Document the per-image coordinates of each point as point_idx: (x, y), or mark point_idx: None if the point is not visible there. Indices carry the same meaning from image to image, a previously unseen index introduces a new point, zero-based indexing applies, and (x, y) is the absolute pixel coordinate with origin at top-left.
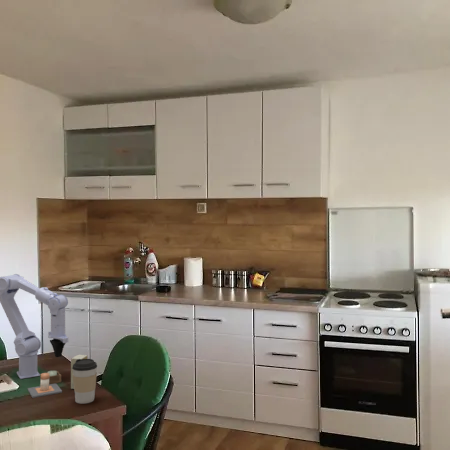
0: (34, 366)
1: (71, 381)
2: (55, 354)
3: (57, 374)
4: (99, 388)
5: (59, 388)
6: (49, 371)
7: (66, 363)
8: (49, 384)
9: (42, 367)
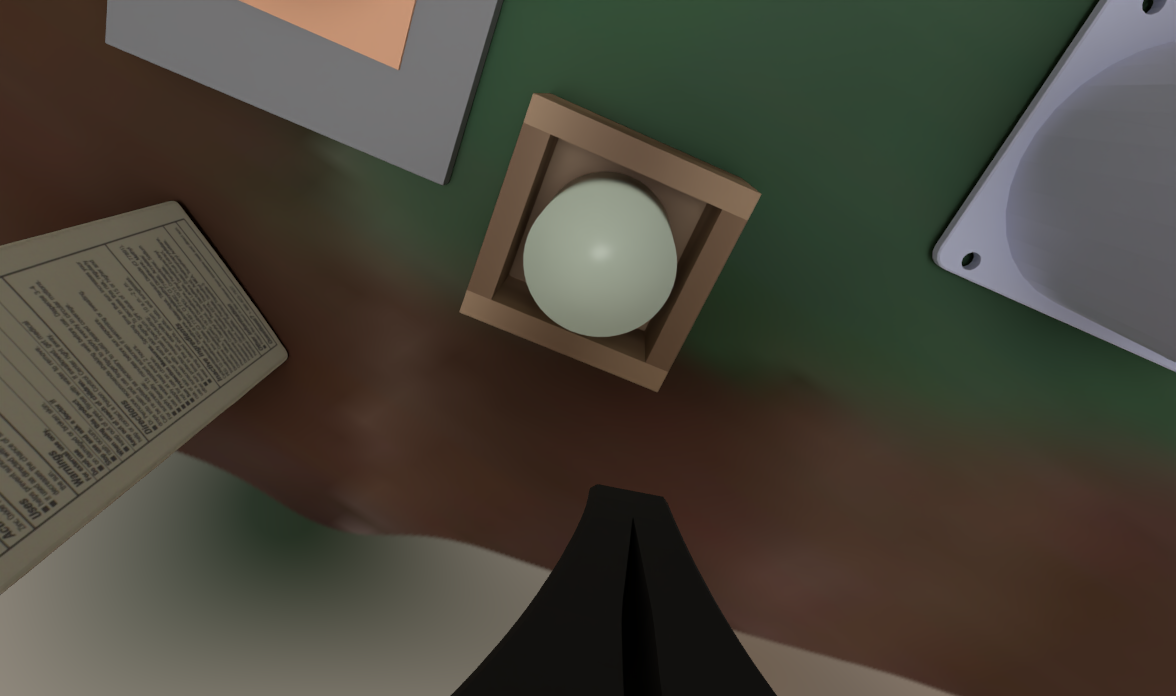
0: (1101, 239)
1: (93, 222)
2: (625, 518)
3: None
4: None
5: (221, 82)
6: (658, 256)
7: (976, 679)
8: (466, 93)
9: (1165, 480)
